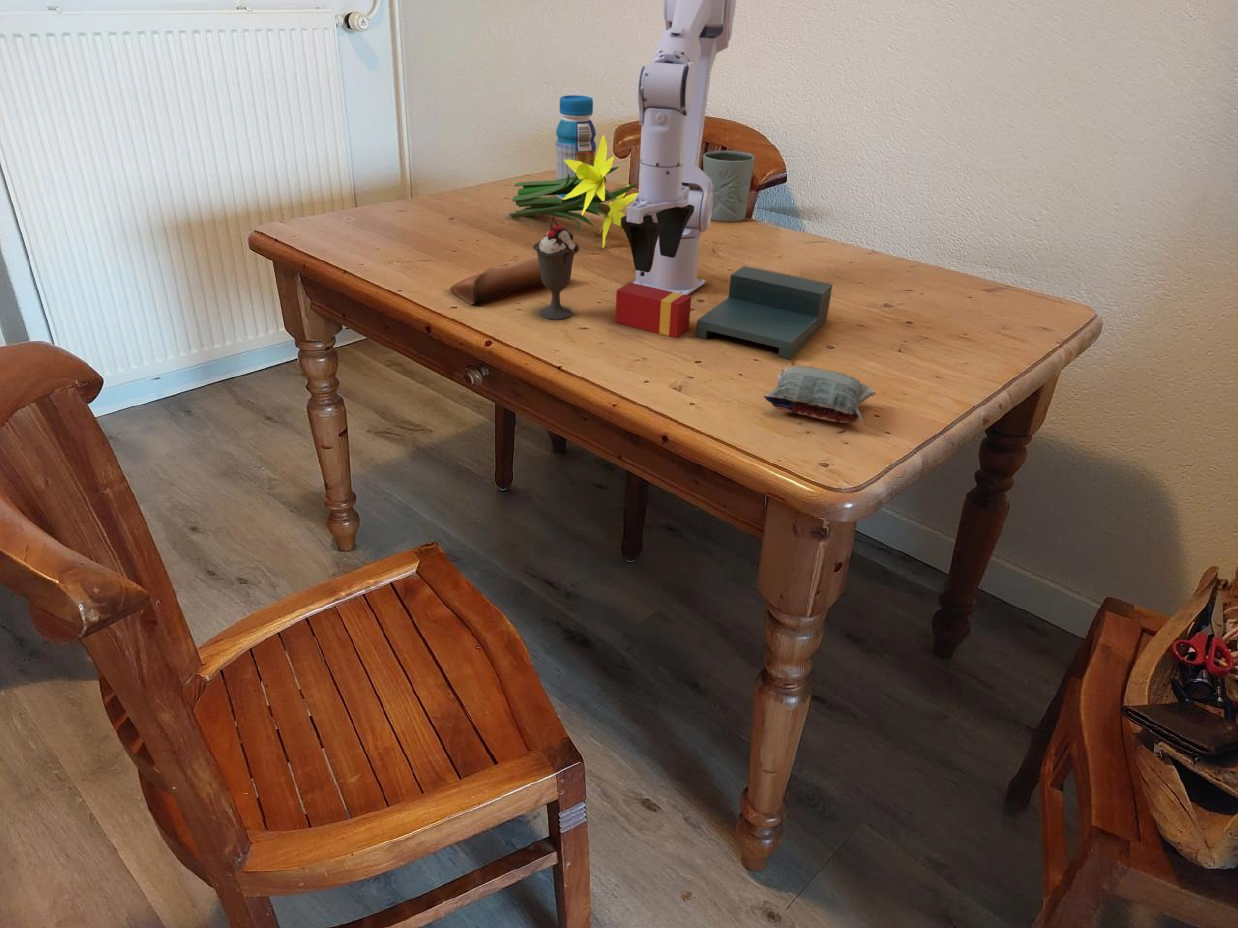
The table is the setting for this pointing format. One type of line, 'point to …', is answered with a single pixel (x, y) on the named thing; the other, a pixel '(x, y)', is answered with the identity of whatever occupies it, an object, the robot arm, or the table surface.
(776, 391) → the packaged food
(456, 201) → the table surface
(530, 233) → the table surface
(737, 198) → the sage green ceramic cup
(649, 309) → the candy bar
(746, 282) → the shelf rack
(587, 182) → the daffodil flowers
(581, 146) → the beverage bottle
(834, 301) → the table surface
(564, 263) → the sundae
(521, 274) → the sunglasses case
